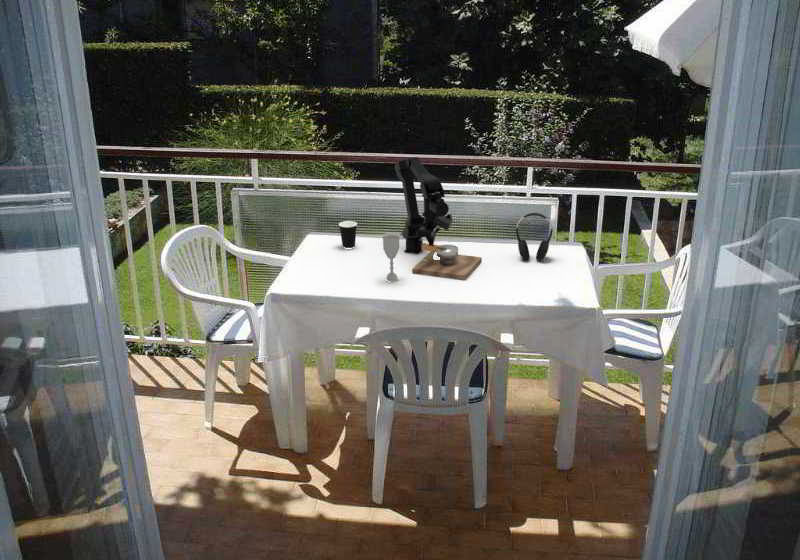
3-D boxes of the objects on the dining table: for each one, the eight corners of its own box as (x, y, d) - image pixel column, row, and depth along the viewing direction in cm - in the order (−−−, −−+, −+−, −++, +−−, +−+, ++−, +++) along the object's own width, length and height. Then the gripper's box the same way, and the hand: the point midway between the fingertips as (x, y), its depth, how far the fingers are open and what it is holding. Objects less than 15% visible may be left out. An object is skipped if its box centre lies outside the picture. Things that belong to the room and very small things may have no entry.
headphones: (550, 264, 314) (553, 216, 307) (514, 262, 317) (516, 215, 309) (550, 256, 322) (553, 210, 315) (515, 255, 325) (517, 209, 317)
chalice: (387, 284, 296) (386, 239, 290) (379, 278, 302) (378, 234, 295) (404, 280, 299) (403, 236, 293) (396, 275, 305) (395, 231, 298)
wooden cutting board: (412, 273, 307) (412, 261, 305) (431, 255, 325) (431, 244, 324) (465, 280, 299) (465, 268, 297) (481, 261, 318) (481, 250, 316)
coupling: (461, 253, 312) (461, 246, 311) (452, 259, 305) (452, 252, 304) (427, 248, 318) (427, 240, 317) (418, 254, 312) (418, 246, 310)
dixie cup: (361, 247, 336) (360, 223, 332) (347, 252, 331) (346, 227, 327) (349, 243, 341) (348, 219, 337) (336, 248, 336) (334, 223, 332)
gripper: (442, 218, 298) (443, 256, 304) (457, 204, 314) (457, 240, 320) (415, 216, 302) (416, 253, 308) (431, 202, 318) (432, 238, 324)
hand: (431, 246), depth 315 cm, fingers closed
